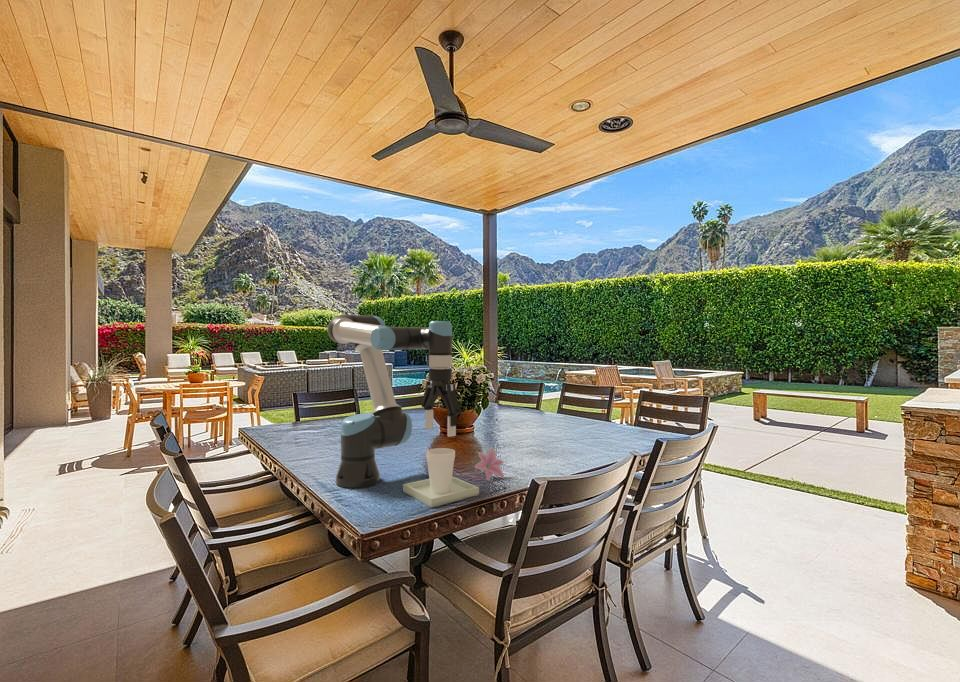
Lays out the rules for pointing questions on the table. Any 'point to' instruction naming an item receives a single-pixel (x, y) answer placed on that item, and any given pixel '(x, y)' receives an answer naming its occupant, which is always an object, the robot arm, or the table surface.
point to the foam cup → (440, 469)
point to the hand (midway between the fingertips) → (440, 432)
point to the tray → (424, 494)
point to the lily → (490, 464)
